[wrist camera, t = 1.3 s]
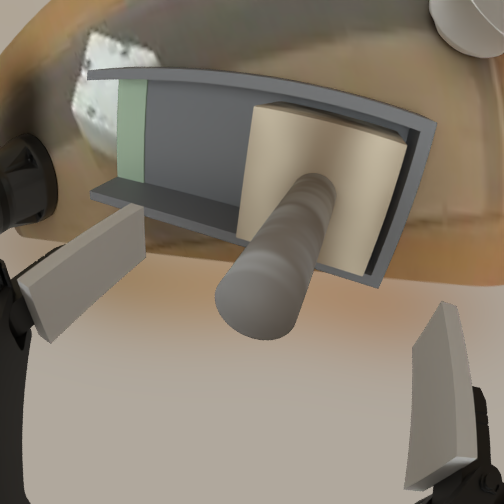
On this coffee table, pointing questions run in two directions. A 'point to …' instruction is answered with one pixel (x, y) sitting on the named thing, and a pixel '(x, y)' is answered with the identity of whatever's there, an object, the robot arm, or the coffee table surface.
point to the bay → (232, 148)
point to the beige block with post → (305, 210)
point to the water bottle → (471, 25)
